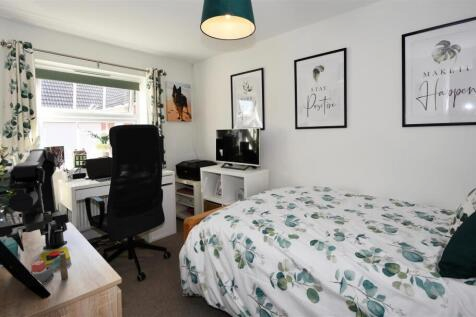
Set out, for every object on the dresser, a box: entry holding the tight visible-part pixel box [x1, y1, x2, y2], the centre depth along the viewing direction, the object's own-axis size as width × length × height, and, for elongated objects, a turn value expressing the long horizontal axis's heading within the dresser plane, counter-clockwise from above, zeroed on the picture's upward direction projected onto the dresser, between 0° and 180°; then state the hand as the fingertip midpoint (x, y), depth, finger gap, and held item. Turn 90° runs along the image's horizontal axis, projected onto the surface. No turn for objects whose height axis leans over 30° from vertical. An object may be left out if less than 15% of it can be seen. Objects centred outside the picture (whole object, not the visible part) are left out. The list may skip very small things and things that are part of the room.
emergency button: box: [39, 246, 73, 272], centre depth 102 cm, size 9×4×15 cm
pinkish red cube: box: [31, 260, 46, 275], centre depth 89 cm, size 4×4×4 cm
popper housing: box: [30, 266, 55, 285], centre depth 89 cm, size 5×5×4 cm
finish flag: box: [52, 253, 69, 281], centre depth 88 cm, size 5×2×9 cm, turn 176°
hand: (37, 247), depth 88 cm, fingers open, 7 cm apart
